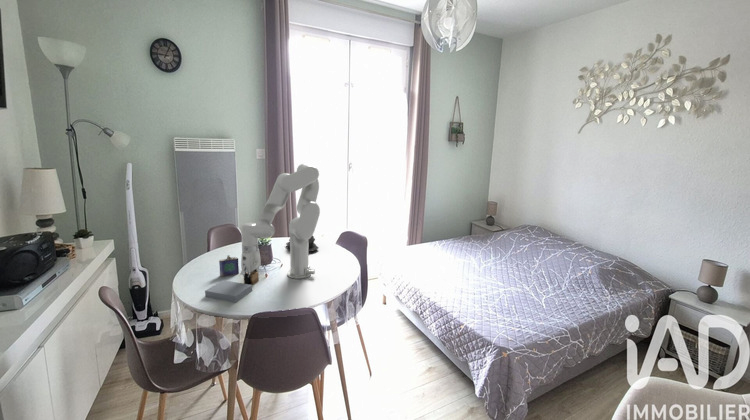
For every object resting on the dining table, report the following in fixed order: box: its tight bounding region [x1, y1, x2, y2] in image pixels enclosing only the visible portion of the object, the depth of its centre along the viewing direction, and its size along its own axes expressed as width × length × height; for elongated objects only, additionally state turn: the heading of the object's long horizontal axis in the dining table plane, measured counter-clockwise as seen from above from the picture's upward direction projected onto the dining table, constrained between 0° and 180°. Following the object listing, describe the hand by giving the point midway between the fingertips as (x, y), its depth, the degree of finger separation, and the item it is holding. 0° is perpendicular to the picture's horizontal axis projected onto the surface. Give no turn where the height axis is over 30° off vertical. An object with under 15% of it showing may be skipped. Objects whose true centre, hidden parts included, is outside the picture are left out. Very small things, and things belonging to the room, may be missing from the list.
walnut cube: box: [243, 271, 260, 286], centre depth 163 cm, size 5×5×5 cm
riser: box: [204, 279, 253, 303], centre depth 150 cm, size 16×12×3 cm
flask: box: [218, 255, 240, 278], centre depth 170 cm, size 9×3×11 cm, turn 121°
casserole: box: [285, 234, 319, 253], centre depth 216 cm, size 25×19×8 cm
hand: (251, 281), depth 163 cm, fingers open, 5 cm apart
